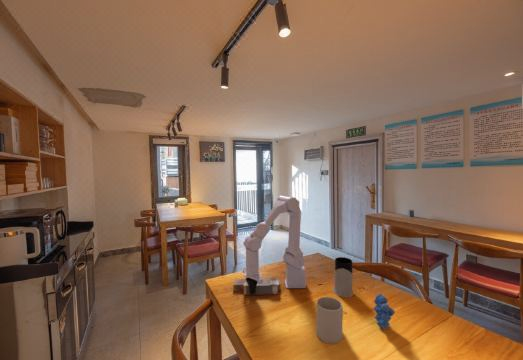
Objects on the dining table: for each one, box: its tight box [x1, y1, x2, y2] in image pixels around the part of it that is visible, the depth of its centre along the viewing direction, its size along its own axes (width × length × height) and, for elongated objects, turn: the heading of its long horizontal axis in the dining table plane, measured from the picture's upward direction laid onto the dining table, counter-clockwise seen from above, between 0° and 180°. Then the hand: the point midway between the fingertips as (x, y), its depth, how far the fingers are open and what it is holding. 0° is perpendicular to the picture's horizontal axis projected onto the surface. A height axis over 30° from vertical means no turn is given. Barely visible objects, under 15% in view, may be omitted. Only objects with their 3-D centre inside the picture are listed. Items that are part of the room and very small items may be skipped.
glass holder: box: [332, 256, 354, 298], centre depth 110 cm, size 9×14×15 cm, turn 158°
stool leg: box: [243, 283, 279, 296], centre depth 107 cm, size 15×3×4 cm, turn 92°
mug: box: [315, 296, 344, 345], centre depth 81 cm, size 12×8×11 cm
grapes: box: [373, 293, 396, 329], centre depth 83 cm, size 12×7×12 cm, turn 169°
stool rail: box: [232, 277, 281, 292], centre depth 110 cm, size 22×10×5 cm, turn 90°
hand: (252, 293), depth 104 cm, fingers closed
